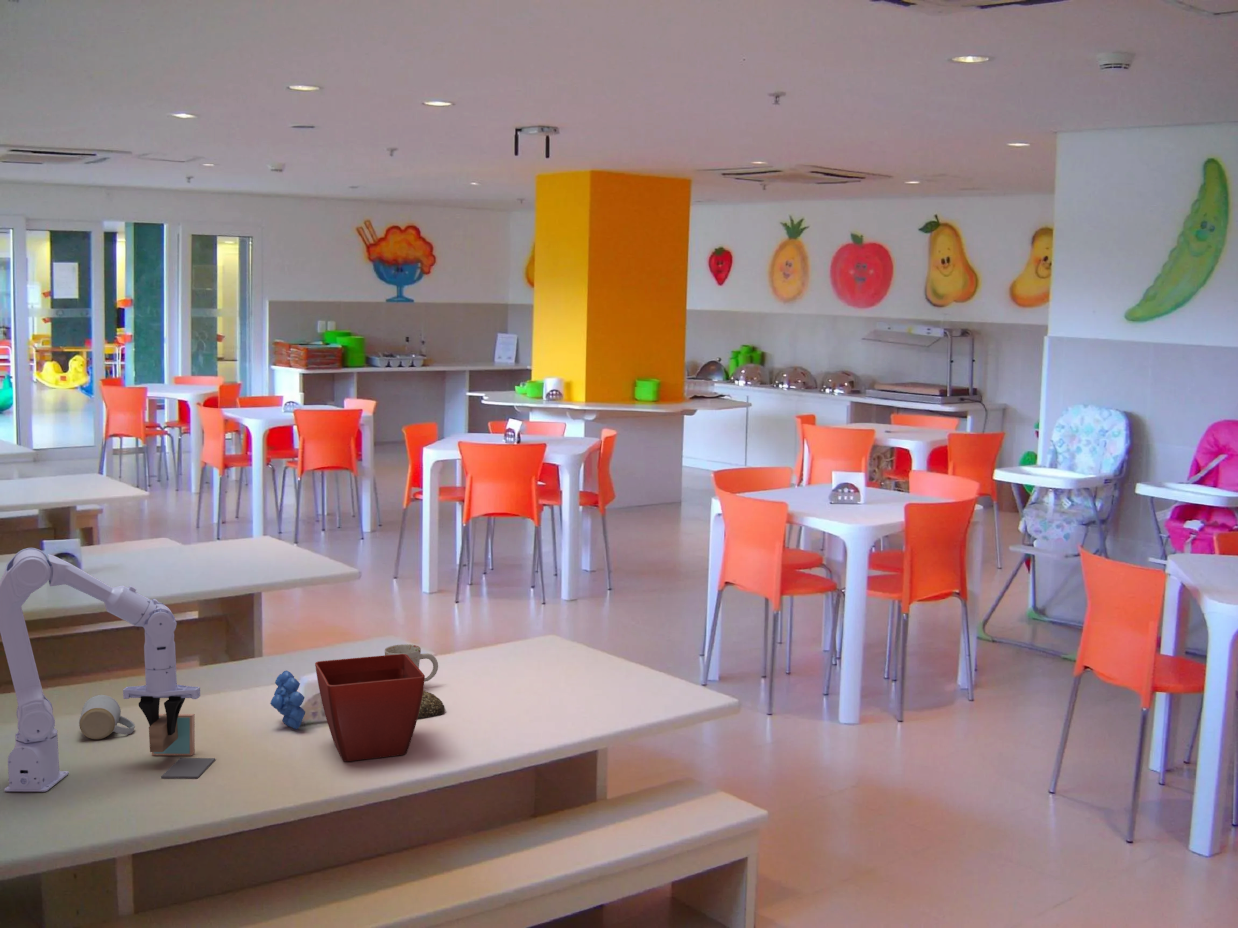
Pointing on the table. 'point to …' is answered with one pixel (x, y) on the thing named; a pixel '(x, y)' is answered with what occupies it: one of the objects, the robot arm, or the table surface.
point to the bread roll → (430, 706)
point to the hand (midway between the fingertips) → (163, 733)
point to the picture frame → (182, 737)
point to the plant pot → (371, 704)
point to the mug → (413, 656)
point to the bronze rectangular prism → (161, 735)
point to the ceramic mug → (103, 718)
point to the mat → (188, 768)
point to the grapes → (288, 700)
